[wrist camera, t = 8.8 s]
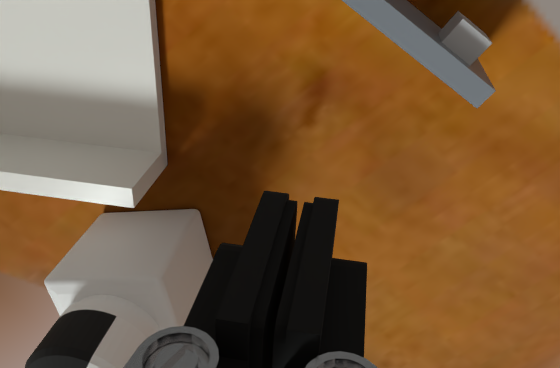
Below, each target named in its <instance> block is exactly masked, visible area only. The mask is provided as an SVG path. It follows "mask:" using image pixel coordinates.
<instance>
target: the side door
mask: <svg viewBox="0 0 560 368" xmlns="http://www.w3.org/2000/svg"><path fill="white" fill-rule="evenodd" d="M342 1H343V2H345V3H346V4H347V5H348V6H350V7H351V8H352V9H353V10H355V11H356V12H357V13H358V14H360V15H361V16H362V17H363V18H365V19H366V20H367V21H368V22H370V23H371V24H372V25H373V26H375V27H376V28H377V29H378V30H380V31H381V32H382V33H383V34H385V35H386V36H387V37H388V38H390V39H391V40H392V41H393V42H395V43H396V44H397V45H398V46H400V47H401V48H402V49H403V50H405V51H406V52H407V53H408V54H410V55H411V56H412V57H413V58H415V59H416V60H417V61H418V62H420V63H421V64H422V65H423V66H425V67H426V68H427V69H428V70H430V71H431V72H432V73H433V74H435V75H436V76H437V77H438V78H440V79H441V80H442V81H443V82H445V83H446V84H447V85H448V86H449V87H451V88H452V89H453V90H454V91H456V92H457V93H458V94H459V95H461V96H462V97H463V98H464V99H466V100H467V101H468V102H469V103H471V104H472V105H473V106H474V107H476V108H478V107H479V106H480V105H481V104H482V103H483V102H484V101H485V100H486V99H488V98H489V97H490V96H491V95H492V94H493V93H494V92H495V89H494V87H493V85H492V83H491V82H490V80H489V78H488V76H487V74H486V73H485V71H484V69H483V67H482V65H481V64H480V62H479V60H478V57H479V56H480V55H481V54H482V53H483V52H484V51H485V50H486V49H487V48H488V47H489V46H490V45H491V44H492V42H491V41H490V39H489V38H488V36H487V35H486V34H485V33H484V32H483V31H482V30H481V29H479V28H478V27H477V26H476V25H475V24H473V23H472V22H471V21H470V20H469V19H468V18H466V17H465V16H464V15H463V14H462V13H460V12H459V11H457V12H456V14H455V15H454V16H453V17H452V18H451V19H450V20H449V21H448V23H447V24H446V25H445V26H444V27H443V28H442V29H441V28H440V27H439V26H437V25H436V24H435V23H434V22H433V21H431V20H430V19H429V18H428V17H427V16H425V15H424V14H423V13H422V12H420V11H419V10H418V9H417V8H416V7H414V6H413V5H412V4H411V3H410V2H408V1H407V0H342Z"/></svg>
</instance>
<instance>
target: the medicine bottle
mask: <svg viewBox="0 0 560 368" xmlns="http://www.w3.org/2000/svg"><path fill="white" fill-rule="evenodd" d="M212 261H213V258H212V255H211V251H210V247H209V244H208V240H207V236H206V233H205V229H204V225H203V222H202V218H201V214H200V212H199V211H198V210H197V209H182V210H160V211H138V212H115V213H103V214H101V215H100V216H99V217H98V218H97V219H96V220H95V222H94V223H93V224H92V225H91V226H90V227H89V229H88V230H87V231H86V232H85V233H84V234H83V236H82V237H81V238H80V239H79V240H78V241H77V243H76V244H75V245H74V246H73V247H72V248H71V249H70V251H69V252H68V253H67V254H66V255H65V256H64V258H63V259H62V260H61V261H60V262H59V263H58V265H57V266H56V267H55V268H54V269H53V270H52V272H51V273H50V274H49V275H48V276H47V277H46V279H45V281H44V283H45V286H46V288H47V290H48V292H49V294H50V296H51V298H52V300H53V302H54V304H55V306H56V308H57V311H58V313H59V315H60V317H59V319H58V320H57V321H56V323H55V324H54V325H53V327H52V328H51V329H50V331H49V332H48V333H47V335H46V336H45V337H44V339H43V340H42V342H41V343H40V344H39V345H38V347H37V348H36V349H35V351H34V352H33V353H32V355H31V356H30V357H29V359H28V360H27V362H26V365H25V368H123V367H124V366H125V364H126V363H127V362H128V360H129V359H130V358H131V356H132V355H133V353H134V352H135V351H136V349H137V348H138V347H139V346H140V345H141V344H142V342H143V341H144V340H145V339H146V338H147V337H149V336H151V335H152V334H154V333H156V332H157V331H160V330H163V329H166V328H169V327H177V326H184V323H185V321H186V319H187V317H188V314H189V312H190V310H191V308H192V305H193V303H194V301H195V299H196V297H197V294H198V292H199V290H200V288H201V285H202V283H203V281H204V279H205V276H206V274H207V272H208V270H209V268H210V265H211V263H212Z"/></svg>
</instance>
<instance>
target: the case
mask: <svg viewBox="0 0 560 368" xmlns="http://www.w3.org/2000/svg"><path fill="white" fill-rule="evenodd" d="M167 165H168V163H167V150H166V136H165V123H164V110H163V97H162V84H161V71H160V58H159V44H158V31H157V18H156V5H155V0H0V190H5V191H12V192H20V193H27V194H34V195H41V196H49V197H56V198H63V199H71V200H78V201H85V202H93V203H100V204H107V205H115V206H122V207H129V208H135V206H136V205H137V204H138V202H139V201H140V200H141V199H142V197H143V196H144V195H145V193H146V192H147V191H148V189H149V188H150V187H151V186H152V184H153V183H154V182H155V180H156V179H157V178H158V177H159V175H160V174H161V173H162V171H163V170H164V169H165V168H166V166H167Z"/></svg>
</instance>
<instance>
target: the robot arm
mask: <svg viewBox="0 0 560 368" xmlns="http://www.w3.org/2000/svg"><path fill="white" fill-rule="evenodd" d="M338 204H339V200H335V199H327V198H319V197H315V198H314V202H313V203H308V202H304V206H303V210H302V214H301V218H300V222H299V226H298V230H297V235H296V239H295V230H296V216H297V201H292V200H289V194H287V193H279V192H271V191H264V192H263V195H262V197H261V200H260V203H259V205H258V208H257V210H256V213H255V216H254V218H253V221H252V224H251V226H250V229H249V231H248V234H247V237H246V239H245V242H244V244H243V246H242V245H235V244H228V243H222V244H220V246H219V248H218V250H217V252H216V254H215V256H214V259H213V261H212V263H211V265H210V268H209V270H208V272H207V274H206V276H205V279H204V281H203V283H202V285H201V288H200V290H199V292H198V294H197V297H196V299H195V301H194V303H193V305H192V308H191V310H190V312H189V314H188V317H187V319H186V321H185V323H184V326H177V327H169V328H166V329H163V330H160V331H157V332H156V333H154V334H152V335H151V336H149V337H147V338H146V339H145V340H144V341H143V342H142V344H141V345H140V346H139V347H138V348H137V349H136V351H135V352H134V353H133V355H132V356H131V358H130V359H129V360H128V362H127V363H126V364H125V366H124V367H123V368H377V367H376V366H375V365H374V364H372V363H371V362H370V361H368V360H367V359H366V358H364V337H365V309H366V281H367V263H365V262H358V261H350V260H343V259H336V258H332V254H333V246H334V237H335V229H336V221H337V212H338Z"/></svg>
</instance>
